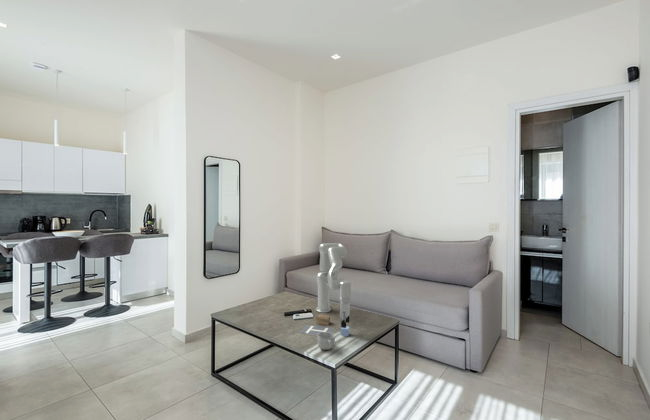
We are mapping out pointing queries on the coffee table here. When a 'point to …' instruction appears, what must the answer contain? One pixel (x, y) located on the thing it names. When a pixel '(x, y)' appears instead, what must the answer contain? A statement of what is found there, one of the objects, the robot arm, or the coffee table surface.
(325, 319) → the walnut block
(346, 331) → the blue cube
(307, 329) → the letter card
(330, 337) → the teacup
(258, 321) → the coffee table surface
